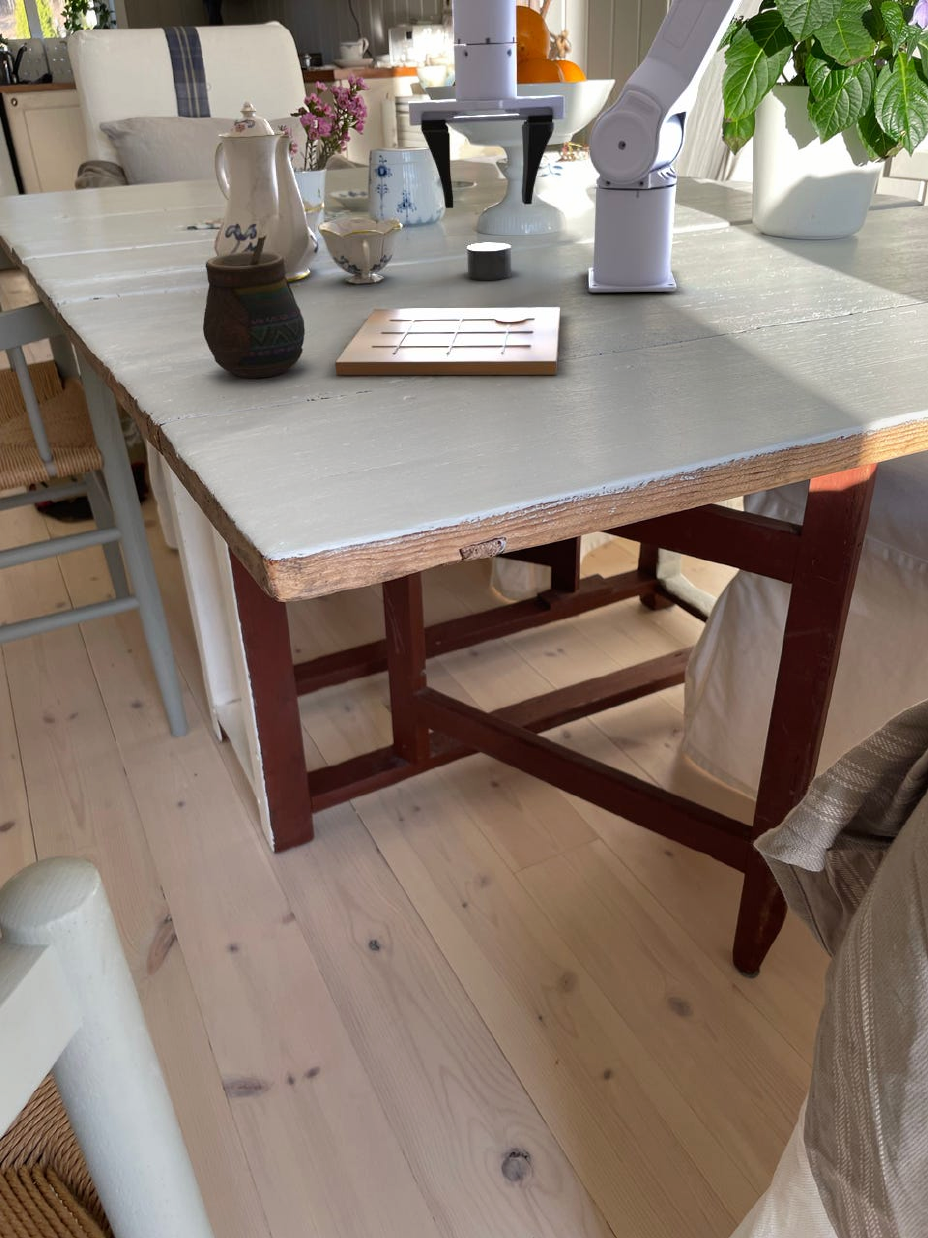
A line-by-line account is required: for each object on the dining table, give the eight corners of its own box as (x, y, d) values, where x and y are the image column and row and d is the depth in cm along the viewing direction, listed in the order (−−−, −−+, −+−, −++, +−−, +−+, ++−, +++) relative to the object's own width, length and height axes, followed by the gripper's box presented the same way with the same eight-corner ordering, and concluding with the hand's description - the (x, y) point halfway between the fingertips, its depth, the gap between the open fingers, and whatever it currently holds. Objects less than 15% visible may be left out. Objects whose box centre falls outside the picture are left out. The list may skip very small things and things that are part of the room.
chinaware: (434, 294, 99) (440, 111, 92) (292, 305, 90) (286, 101, 82) (292, 259, 118) (288, 105, 111) (162, 265, 108) (147, 96, 101)
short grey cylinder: (470, 271, 101) (469, 242, 100) (512, 270, 101) (512, 242, 99) (465, 280, 97) (465, 251, 96) (509, 279, 97) (509, 250, 95)
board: (375, 320, 85) (374, 307, 84) (560, 318, 83) (560, 305, 82) (336, 375, 71) (334, 360, 70) (556, 374, 69) (556, 359, 69)
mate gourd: (274, 350, 77) (256, 216, 72) (331, 368, 72) (316, 225, 67) (194, 371, 73) (169, 230, 68) (248, 391, 68) (226, 241, 63)
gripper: (406, 47, 85) (415, 214, 92) (571, 40, 86) (568, 206, 92) (404, 47, 91) (413, 203, 98) (558, 41, 92) (556, 196, 99)
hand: (488, 204), depth 96 cm, fingers open, 7 cm apart
